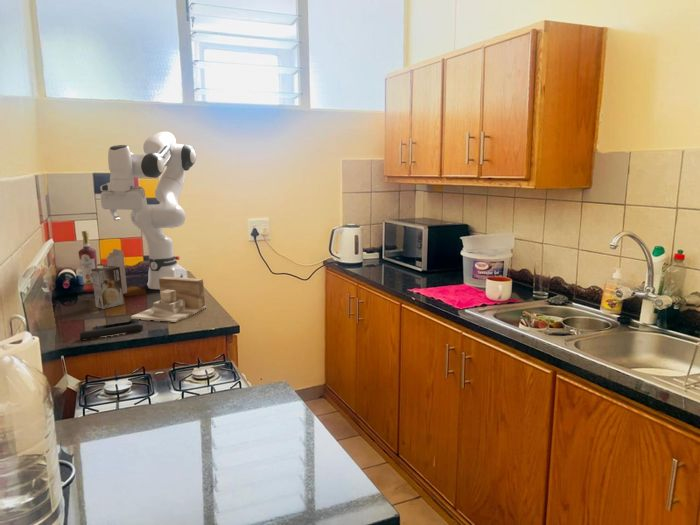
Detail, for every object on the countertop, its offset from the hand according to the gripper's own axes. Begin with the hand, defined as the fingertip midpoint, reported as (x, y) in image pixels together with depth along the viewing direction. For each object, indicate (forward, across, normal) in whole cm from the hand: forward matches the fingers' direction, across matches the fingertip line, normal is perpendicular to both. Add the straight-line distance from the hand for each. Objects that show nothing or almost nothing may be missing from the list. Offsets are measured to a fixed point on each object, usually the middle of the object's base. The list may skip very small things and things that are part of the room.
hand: (125, 220), depth 216 cm
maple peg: (+34, -24, +8) cm, 42 cm away
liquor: (+35, +35, -13) cm, 51 cm away
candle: (+35, +20, -10) cm, 42 cm away
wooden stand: (+35, -24, +8) cm, 43 cm away
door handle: (+36, -17, +32) cm, 51 cm away
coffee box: (+35, +8, +5) cm, 37 cm away
